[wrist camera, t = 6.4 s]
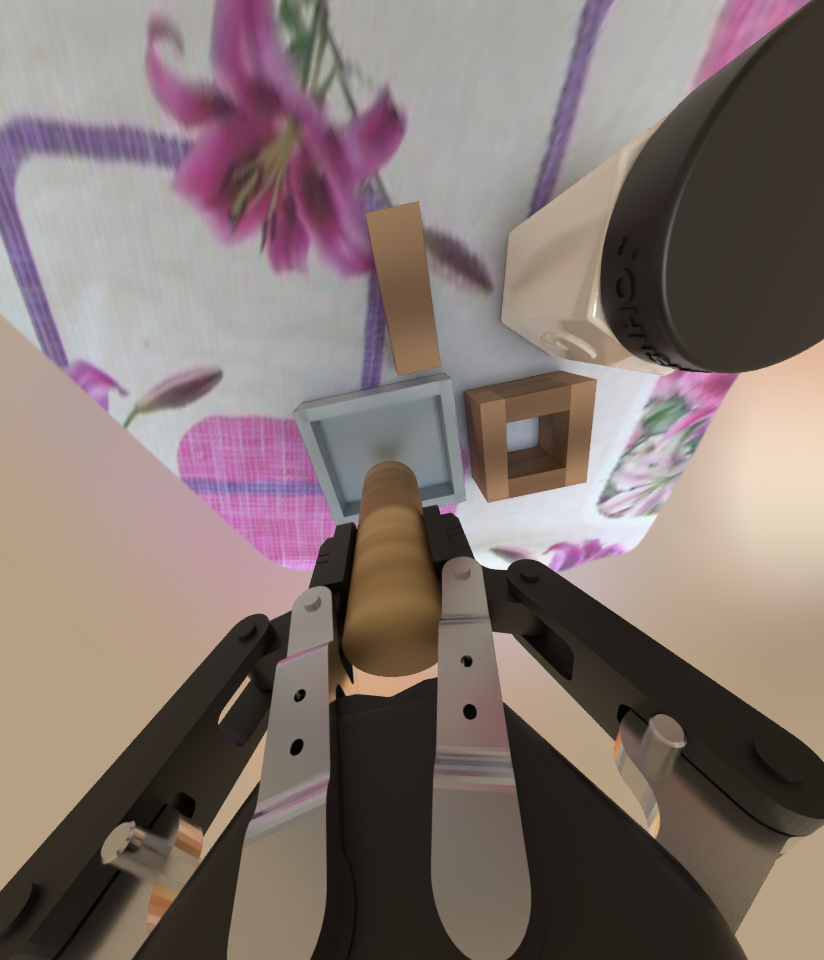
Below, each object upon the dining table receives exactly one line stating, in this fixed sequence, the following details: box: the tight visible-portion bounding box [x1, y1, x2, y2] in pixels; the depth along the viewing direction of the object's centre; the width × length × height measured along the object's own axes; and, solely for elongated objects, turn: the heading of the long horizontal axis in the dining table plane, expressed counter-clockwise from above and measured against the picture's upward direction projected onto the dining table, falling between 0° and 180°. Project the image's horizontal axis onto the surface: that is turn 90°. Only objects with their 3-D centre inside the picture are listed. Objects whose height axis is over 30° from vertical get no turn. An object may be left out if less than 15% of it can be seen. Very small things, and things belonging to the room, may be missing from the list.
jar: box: [501, 0, 824, 376], centre depth 13 cm, size 9×8×12 cm
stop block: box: [366, 201, 441, 376], centre depth 16 cm, size 7×2×4 cm, turn 11°
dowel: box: [342, 461, 442, 677], centre depth 13 cm, size 3×3×10 cm
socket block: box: [464, 371, 597, 503], centre depth 21 cm, size 7×7×4 cm
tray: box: [292, 373, 466, 526], centre depth 21 cm, size 9×10×2 cm
